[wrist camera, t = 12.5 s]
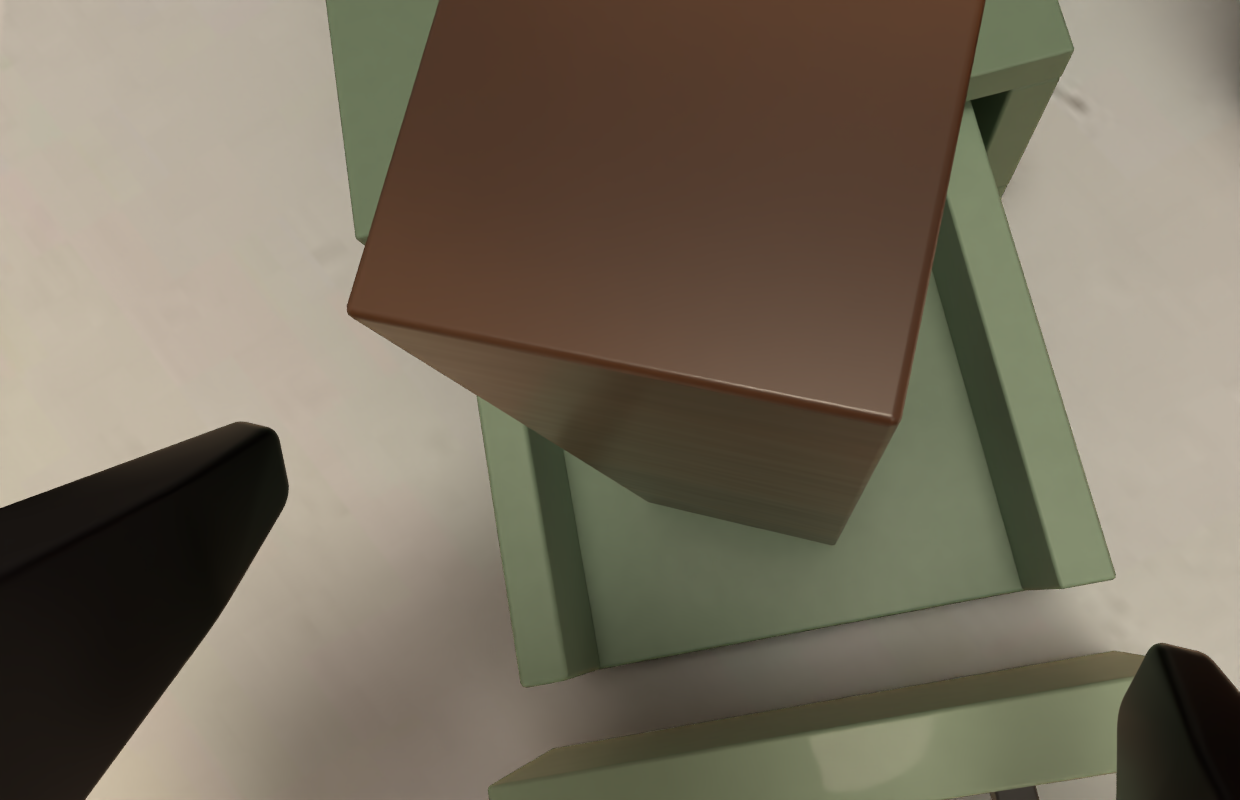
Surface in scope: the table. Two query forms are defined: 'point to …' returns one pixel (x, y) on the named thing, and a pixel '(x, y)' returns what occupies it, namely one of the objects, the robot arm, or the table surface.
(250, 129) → the table surface
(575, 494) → the drawer
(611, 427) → the walnut block
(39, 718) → the robot arm
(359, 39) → the cabinet
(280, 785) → the table surface
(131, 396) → the table surface
